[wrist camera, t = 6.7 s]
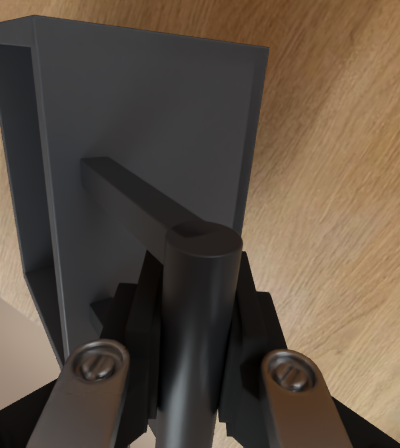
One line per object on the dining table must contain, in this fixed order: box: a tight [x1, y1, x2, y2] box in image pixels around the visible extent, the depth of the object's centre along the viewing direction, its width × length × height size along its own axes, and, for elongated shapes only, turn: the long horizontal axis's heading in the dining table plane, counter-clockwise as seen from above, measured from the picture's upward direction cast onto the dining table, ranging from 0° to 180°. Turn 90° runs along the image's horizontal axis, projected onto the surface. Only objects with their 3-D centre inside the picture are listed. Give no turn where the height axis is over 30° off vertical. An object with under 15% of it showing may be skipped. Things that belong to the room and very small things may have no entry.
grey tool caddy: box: [0, 15, 269, 448], centre depth 16 cm, size 18×15×9 cm
